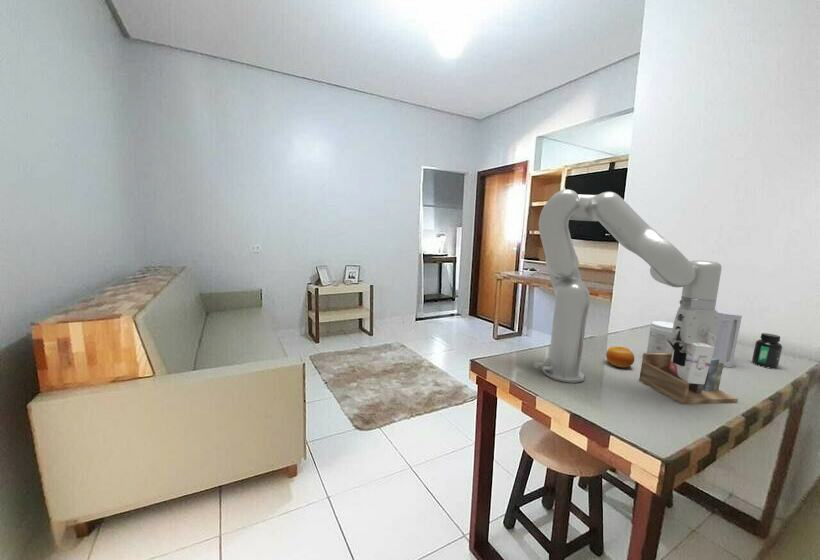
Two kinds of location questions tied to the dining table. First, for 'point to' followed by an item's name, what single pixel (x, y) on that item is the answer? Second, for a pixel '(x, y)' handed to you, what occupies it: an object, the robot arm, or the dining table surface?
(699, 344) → the ink cartridge box
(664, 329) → the supplement tub
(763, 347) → the supplement bottle
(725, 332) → the game console
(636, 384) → the dining table surface
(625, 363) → the fruit
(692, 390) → the wooden slotted rack
